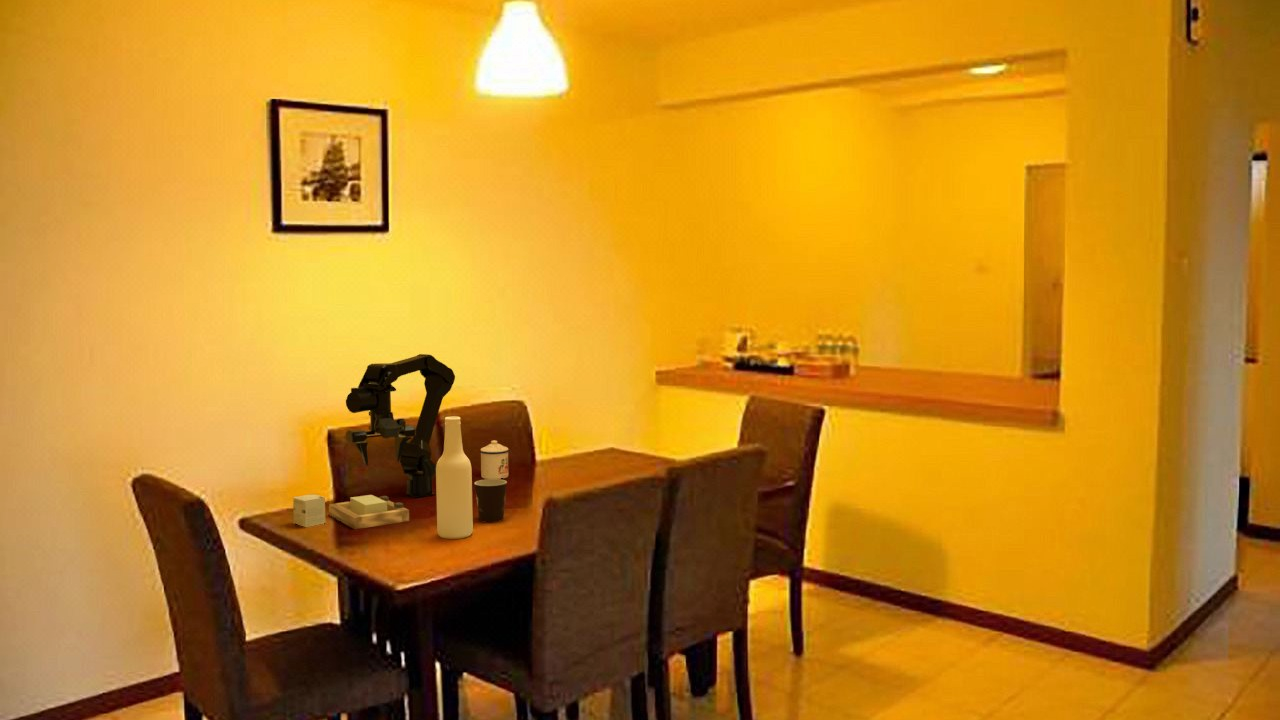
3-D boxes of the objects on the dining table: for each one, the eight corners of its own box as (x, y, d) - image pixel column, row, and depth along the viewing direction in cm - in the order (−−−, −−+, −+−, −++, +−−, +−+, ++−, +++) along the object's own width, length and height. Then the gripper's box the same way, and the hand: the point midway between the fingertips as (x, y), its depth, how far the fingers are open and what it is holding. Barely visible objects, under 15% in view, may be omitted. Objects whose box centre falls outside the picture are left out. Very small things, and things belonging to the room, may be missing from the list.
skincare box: (293, 524, 281) (292, 497, 280) (313, 520, 286) (312, 493, 285) (305, 528, 277) (304, 500, 276) (326, 524, 282) (325, 496, 281)
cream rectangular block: (371, 508, 294) (371, 494, 293) (387, 516, 285) (387, 502, 284) (350, 512, 290) (350, 497, 290) (365, 520, 281) (365, 505, 281)
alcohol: (441, 530, 274) (438, 414, 271) (475, 530, 274) (473, 414, 271) (434, 539, 265) (431, 420, 262) (469, 539, 265) (466, 420, 262)
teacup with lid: (503, 480, 335) (502, 443, 334) (476, 479, 337) (475, 442, 336) (516, 472, 347) (515, 437, 346) (489, 471, 349) (489, 436, 348)
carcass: (381, 507, 300) (381, 493, 299) (409, 520, 284) (408, 506, 284) (329, 515, 291) (328, 500, 291) (354, 529, 276) (354, 514, 275)
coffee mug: (501, 523, 280) (500, 486, 279) (470, 522, 282) (469, 485, 281) (515, 513, 292) (514, 477, 291) (485, 512, 294) (484, 476, 293)
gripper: (359, 414, 288) (360, 471, 289) (423, 408, 299) (424, 463, 300) (344, 410, 297) (346, 465, 298) (407, 404, 308) (408, 458, 309)
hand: (382, 463), depth 301 cm, fingers open, 9 cm apart
